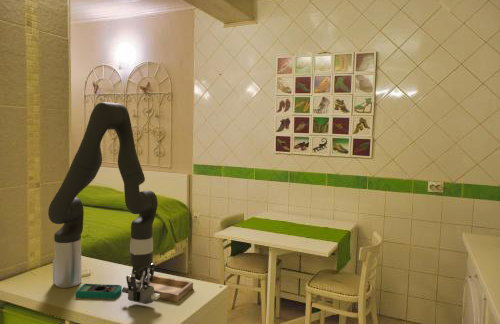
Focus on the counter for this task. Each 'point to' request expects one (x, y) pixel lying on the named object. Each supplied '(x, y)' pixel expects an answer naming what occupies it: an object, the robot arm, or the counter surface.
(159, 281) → the oak tray
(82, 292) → the digital multimeter
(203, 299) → the counter surface
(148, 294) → the gray bottle
